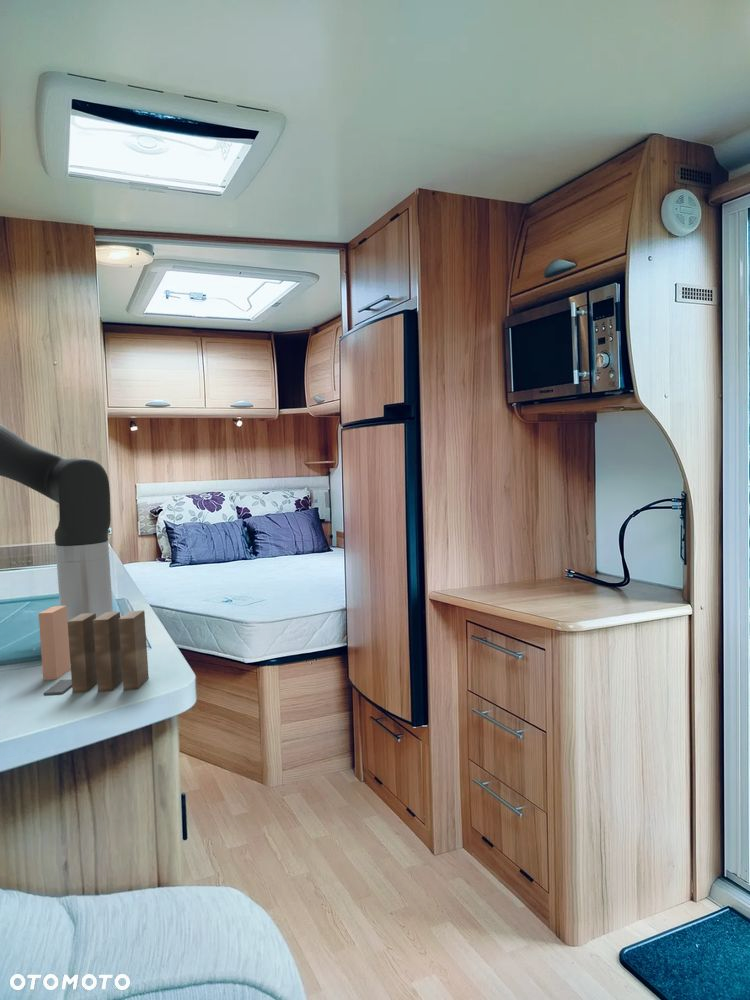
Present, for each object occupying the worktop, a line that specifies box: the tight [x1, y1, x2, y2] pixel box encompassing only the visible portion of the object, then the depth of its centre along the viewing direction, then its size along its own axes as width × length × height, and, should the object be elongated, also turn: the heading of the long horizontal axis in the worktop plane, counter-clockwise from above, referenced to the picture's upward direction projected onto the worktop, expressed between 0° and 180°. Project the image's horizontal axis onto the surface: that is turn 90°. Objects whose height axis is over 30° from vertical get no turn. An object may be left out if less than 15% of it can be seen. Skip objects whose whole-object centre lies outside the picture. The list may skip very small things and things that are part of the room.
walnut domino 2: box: [93, 611, 123, 692], centre depth 97 cm, size 2×5×10 cm, turn 2°
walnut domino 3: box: [119, 609, 150, 691], centre depth 97 cm, size 2×5×10 cm, turn 2°
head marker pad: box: [43, 679, 72, 696], centre depth 97 cm, size 3×6×1 cm, turn 2°
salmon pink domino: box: [38, 605, 71, 681], centre depth 104 cm, size 2×5×10 cm, turn 2°
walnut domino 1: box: [68, 613, 98, 694], centre depth 97 cm, size 2×5×10 cm, turn 2°
